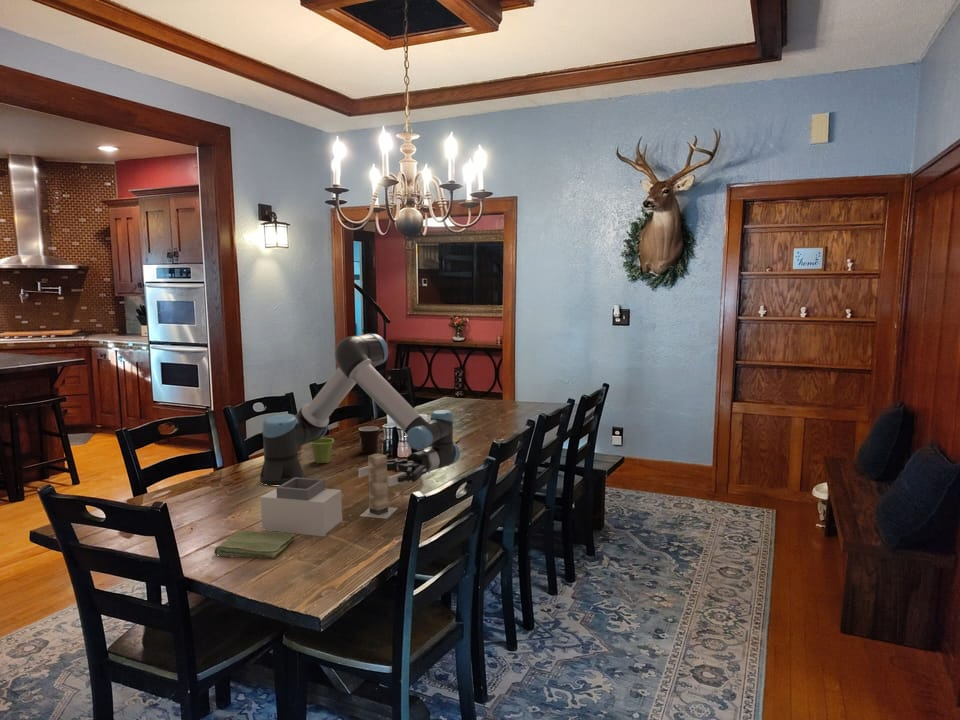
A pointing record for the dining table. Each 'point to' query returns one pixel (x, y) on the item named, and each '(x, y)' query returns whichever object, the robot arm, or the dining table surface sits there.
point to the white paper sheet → (384, 515)
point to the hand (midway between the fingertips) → (373, 477)
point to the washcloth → (254, 544)
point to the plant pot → (322, 450)
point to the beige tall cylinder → (378, 484)
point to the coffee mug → (369, 439)
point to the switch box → (302, 507)
